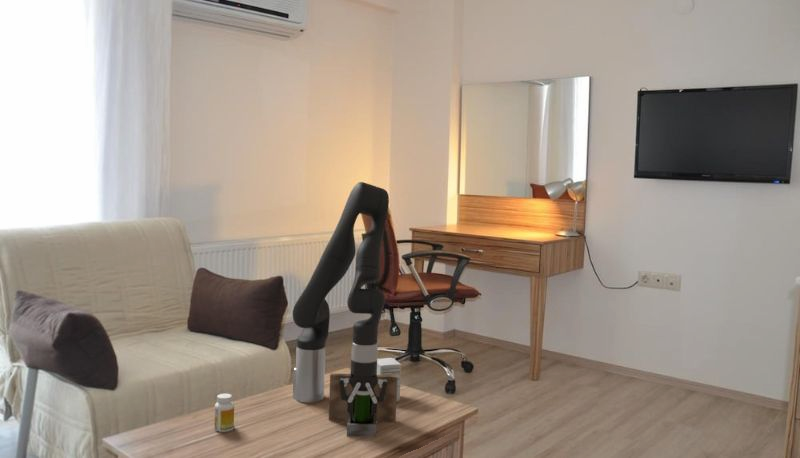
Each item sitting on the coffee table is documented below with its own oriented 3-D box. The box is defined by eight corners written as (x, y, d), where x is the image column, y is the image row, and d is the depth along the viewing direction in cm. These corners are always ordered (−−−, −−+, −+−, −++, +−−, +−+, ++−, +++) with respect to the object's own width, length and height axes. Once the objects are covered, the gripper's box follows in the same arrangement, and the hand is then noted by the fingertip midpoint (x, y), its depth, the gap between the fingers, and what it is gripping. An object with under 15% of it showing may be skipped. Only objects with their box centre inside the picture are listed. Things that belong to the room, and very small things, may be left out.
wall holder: (325, 435, 194) (327, 387, 193) (329, 418, 207) (330, 373, 205) (396, 437, 195) (398, 390, 193) (395, 420, 208) (397, 375, 206)
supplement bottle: (237, 426, 198) (238, 394, 197) (226, 433, 193) (227, 400, 192) (221, 423, 200) (221, 391, 199) (210, 430, 195) (210, 397, 193)
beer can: (357, 433, 195) (359, 392, 194) (348, 426, 199) (350, 386, 198) (374, 430, 198) (376, 390, 196) (364, 423, 202) (366, 384, 201)
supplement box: (371, 395, 228) (372, 358, 226) (392, 393, 230) (393, 357, 229) (378, 403, 221) (380, 365, 219) (400, 401, 224) (401, 363, 222)
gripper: (338, 360, 192) (336, 418, 194) (389, 362, 193) (387, 420, 195) (339, 352, 200) (337, 408, 202) (389, 354, 200) (386, 410, 202)
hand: (362, 414), depth 198 cm, fingers open, 5 cm apart
